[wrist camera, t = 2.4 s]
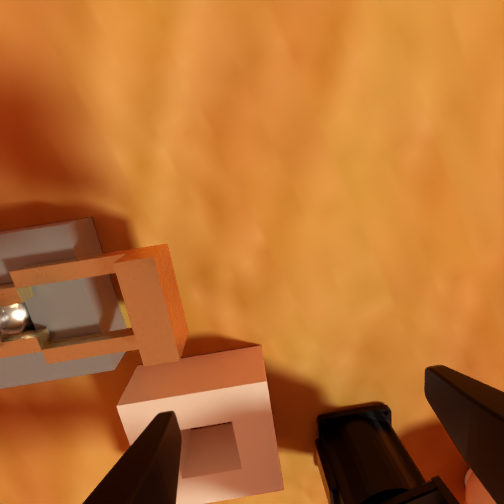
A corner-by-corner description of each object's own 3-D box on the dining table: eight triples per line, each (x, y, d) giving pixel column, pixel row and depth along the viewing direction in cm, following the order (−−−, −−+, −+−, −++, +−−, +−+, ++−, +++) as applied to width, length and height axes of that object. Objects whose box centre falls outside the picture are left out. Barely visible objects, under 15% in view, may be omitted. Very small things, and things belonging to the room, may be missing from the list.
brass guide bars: (167, 243, 16) (153, 256, 13) (188, 332, 18) (179, 360, 15) (-64, 279, 16) (-125, 300, 13) (-21, 366, 17) (-68, 401, 15)
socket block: (91, 217, 18) (65, 224, 16) (130, 343, 21) (114, 370, 18) (-86, 244, 18) (-147, 256, 15) (-24, 368, 21) (-66, 399, 18)
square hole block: (261, 345, 22) (266, 381, 18) (276, 440, 24) (284, 489, 21) (137, 365, 22) (116, 406, 18) (166, 459, 24) (153, 512, 20)
